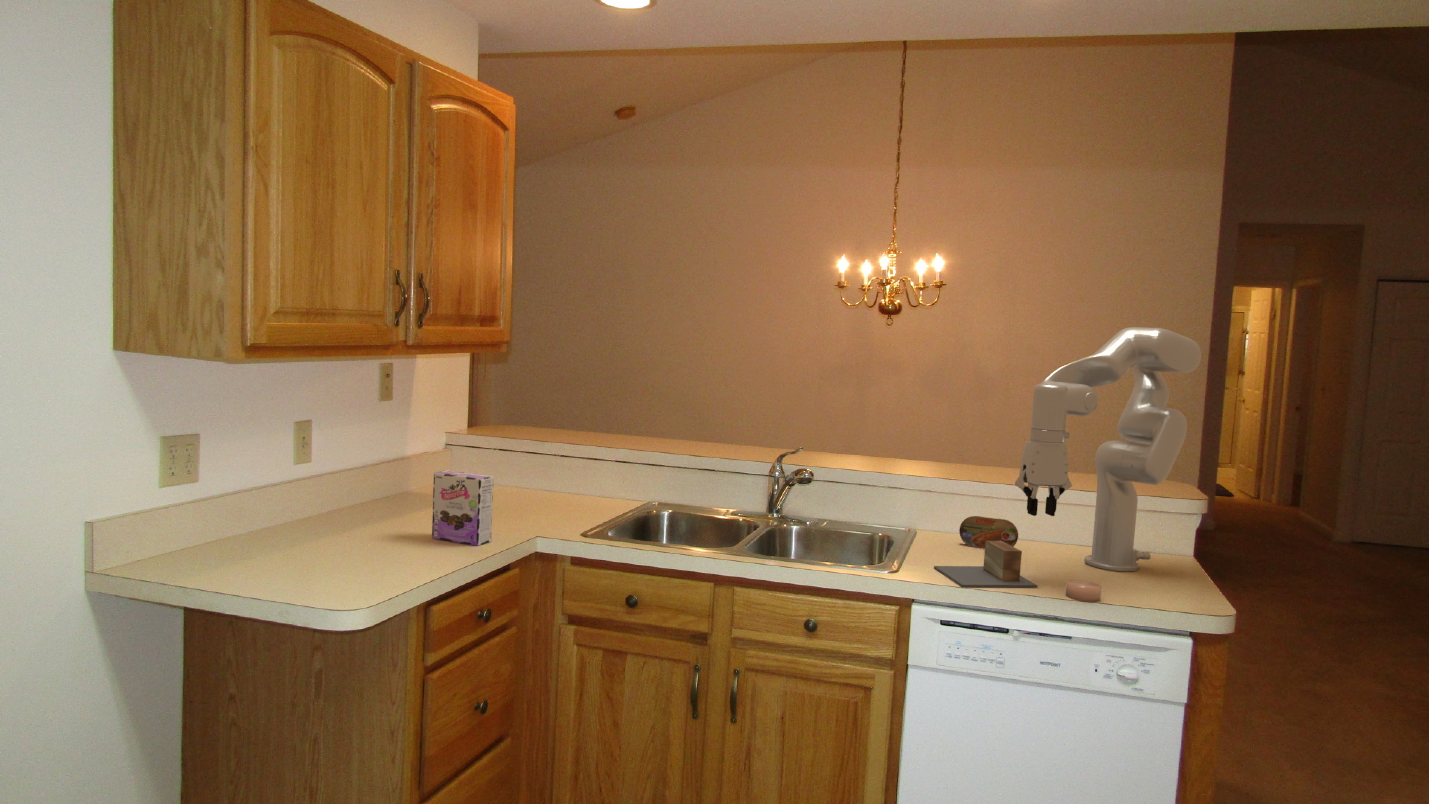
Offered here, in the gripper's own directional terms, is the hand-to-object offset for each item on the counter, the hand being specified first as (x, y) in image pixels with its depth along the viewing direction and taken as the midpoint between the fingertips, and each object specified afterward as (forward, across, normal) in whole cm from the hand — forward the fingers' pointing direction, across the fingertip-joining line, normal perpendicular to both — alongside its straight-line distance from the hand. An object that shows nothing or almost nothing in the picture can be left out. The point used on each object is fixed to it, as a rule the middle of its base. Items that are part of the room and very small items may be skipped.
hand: (1040, 514), depth 216 cm
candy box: (+15, +134, -31) cm, 138 cm away
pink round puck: (+15, -3, +15) cm, 22 cm away
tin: (+16, -2, -29) cm, 33 cm away
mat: (+15, +13, 0) cm, 20 cm away
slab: (+15, +9, 0) cm, 17 cm away
